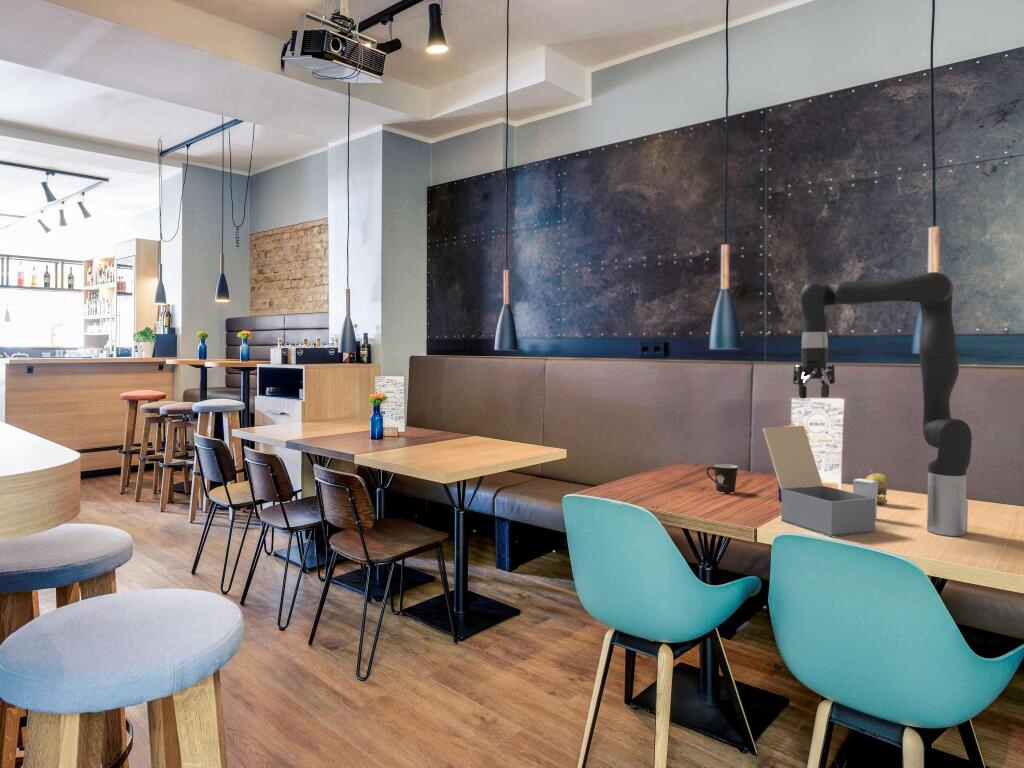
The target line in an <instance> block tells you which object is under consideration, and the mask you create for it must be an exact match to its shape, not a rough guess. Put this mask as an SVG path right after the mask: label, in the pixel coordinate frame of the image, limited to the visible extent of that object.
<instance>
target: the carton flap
mask: <svg viewBox="0 0 1024 768" xmlns="http://www.w3.org/2000/svg"><path fill="white" fill-rule="evenodd" d="M762 430H763V431H762V432H763V434H764V438H765V441H766V444H767V447H768V451H769V454H770V455H769V456H770V459H771V462H772V465H773V468H774V471H775V475H776V480H777V482H778V485H779V488H780V490H782V489H789V488H800V487H812V486H824V485H823V482H822V479H821V475H820V473H819V469H818V466H817V463H816V460H815V458H814V454H813V450H812V447H811V444H810V441H809V438H808V436H807V432H806V428H805V425H794V426H773V427H762Z"/></svg>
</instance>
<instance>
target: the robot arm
mask: <svg viewBox="0 0 1024 768" xmlns="http://www.w3.org/2000/svg"><path fill="white" fill-rule="evenodd" d="M953 284H954V283H953V282H952V280H951V278H950V277H949V276H947V275H946V274H944V273H942V272H938V271H936V272H935V271H933V272H932V271H931V272H927V273H923V274H919V275H916V276H915V275H914V276H910V277H904V278H897V279H886V280H885V279H881V280H877V279H875V280H874V279H873V280H870V279H869V280H867V279H866V280H847V281H841V282H838V283H818V282H809V283H807V284H806V285H804V286H803V288H802V289H801V291H800V306H801V313H802V314H801V315H802V335H801V359H800V360H801V362H802V365H801V364H795V365H794V366H793V375H792V376H793V377H792V380H793V381H792V383H793V385H796V386H798V396H799V398H800V399H807V397H808V396H807V394H808V392H807V390H808V389H807V388H808V387H807V385H808V383H809V382H810V381H811V380H813V379H816V380H817V381H819V382H820V384H821V385H820V386H821V388H820V389H821V390H820V391H821V392H820V396H821V398H828V397H829V395H830V386H831V385H832V384H835V383H836V382H835V381H836V379H835V378H836V377H835V374H836V373H835V365H834V364H826V362H827V361H828V351H829V349H828V348H829V347H828V344H829V342H828V341H829V340H828V338H829V337H828V318H827V315H826V313H825V307H826V306H834V305H835V306H836V305H865V304H875V303H882V302H910V303H911V302H912V303H919V306H920V307H919V308H920V313H921V320H922V321H921V335H920V343H919V344H920V345H919V358H920V359H919V361H920V371H921V381H922V397H923V398H922V399H923V411H922V412H923V415H922V417H923V419H922V434H923V437H924V440H925V442H926V443H927V444H928V445H929V446H931V447H933V448H936V449H937V457H936V458H935V459H934V460H932V461H929V463H928V464H927V466H928V467H927V509H926V510H927V512H926V513H927V516H926V517H927V518H926V519H927V520H926V521H927V522H926V531H928V532H930V533H932V534H937V535H940V536H941V535H942V536H948V537H961V536H964V535H966V534H967V533H968V515H969V513H968V511H969V502H968V499H967V469H968V468H969V466H970V464H971V453H972V445H973V444H972V442H973V441H972V440H973V438H972V430H971V427H970V425H968V424H969V423H968V422H966V421H964V420H961V419H957V418H952V417H951V409H950V408H951V407H950V401H951V400H950V399H951V395H952V392H953V389H954V387H955V384H956V382H957V380H958V376H959V373H960V365H959V364H960V362H959V352H958V346H957V338H956V334H955V329H954V323H953V315H952V314H953V312H952V311H953V306H952V305H953V292H954V285H953Z"/></svg>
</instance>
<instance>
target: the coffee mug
mask: <svg viewBox="0 0 1024 768" xmlns="http://www.w3.org/2000/svg"><path fill="white" fill-rule="evenodd" d="M738 468H739V467H738V465H735V464H729V463H727V464H724V463H722V464H721V463H720V464H714V465H713V467H712V466H711V467H708V468H707V470H706V475H707V476H708V477H709V479H711V481H712V482H713V483H715V486H716V487H715V489H716V492H717V491H719V492H724V493H731V492H734V493H735V492H736V484H737V483H736V482H737V476H738ZM710 470H713V471H714V478H715V479H714V478H713V477H711V474H710V473H709V471H710Z"/></svg>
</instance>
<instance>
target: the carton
mask: <svg viewBox="0 0 1024 768" xmlns="http://www.w3.org/2000/svg"><path fill="white" fill-rule="evenodd" d="M780 514H781V519H780V520H781V522H783V521H784V523H787V524H790V525H792V526H796V527H799V528H802V529H805V530H808V531H811V532H814V533H817V532H818V533H817V534H820V533H822V534H821V535H823V534H824V535H823V536H826V535H827V536H826V537H829V538H833V537H832V536H838V537H844V536H843V535H847V536H851V535H850V534H856V535H863V534H862V533H864V534H871V532H873V533H876V519H875V498H873V497H869V496H864V495H860V494H856V493H853V491H852V492H851V491H847V490H843V489H839V488H834V487H831V486H826V485H821V486H809V487H797V488H786V489H781V513H780Z"/></svg>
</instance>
